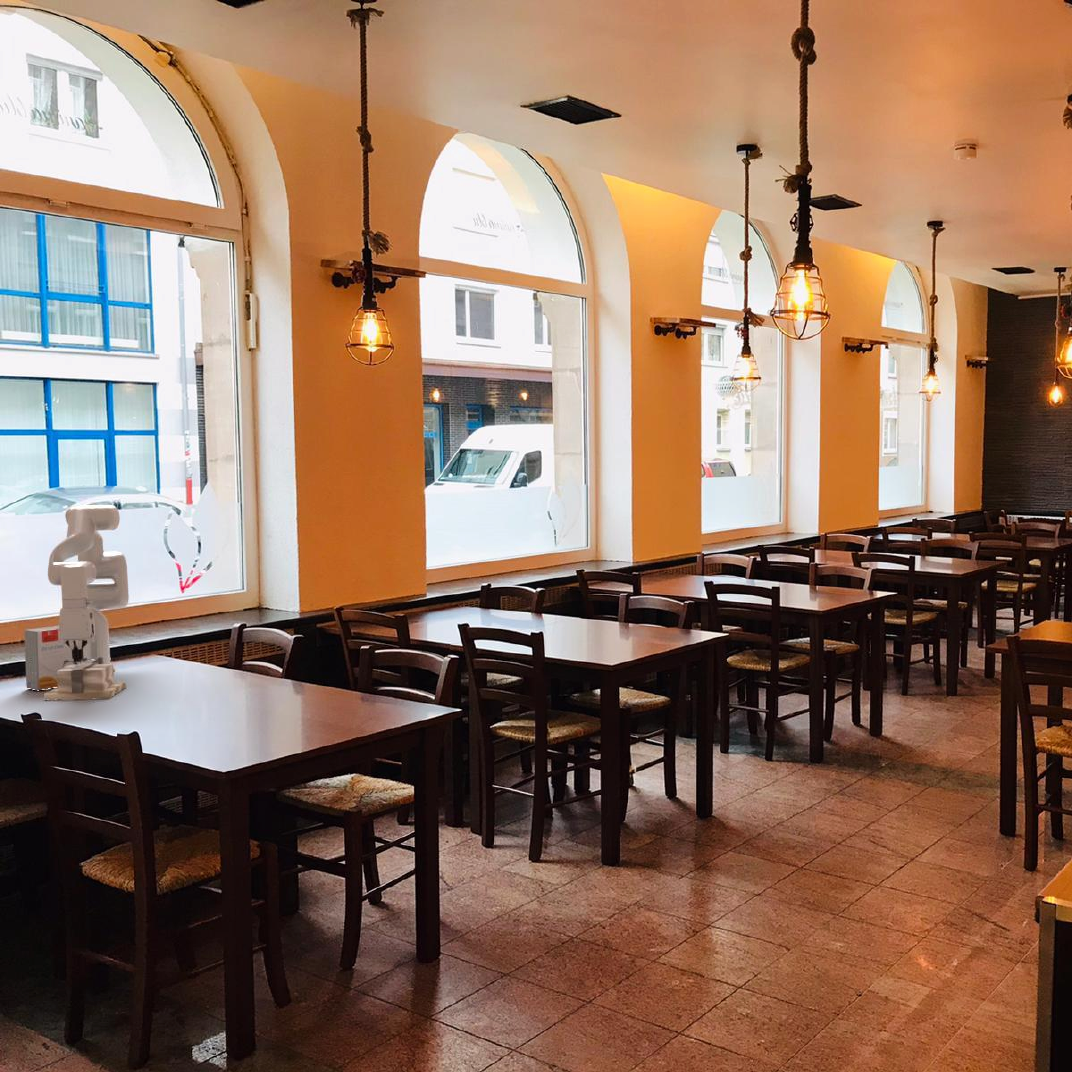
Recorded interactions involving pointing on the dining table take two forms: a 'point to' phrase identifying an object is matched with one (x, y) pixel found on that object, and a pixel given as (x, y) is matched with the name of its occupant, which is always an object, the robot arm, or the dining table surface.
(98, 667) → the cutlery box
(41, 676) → the hard drive box
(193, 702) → the dining table surface
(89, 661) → the latch bar
